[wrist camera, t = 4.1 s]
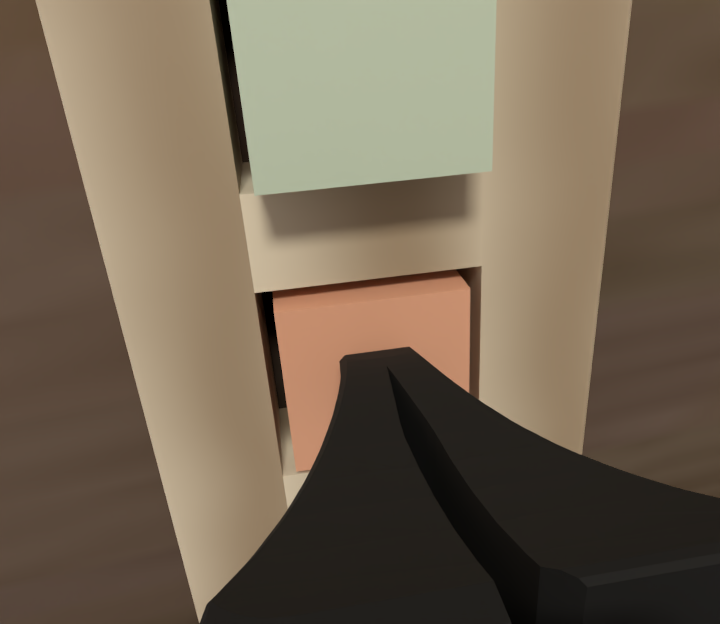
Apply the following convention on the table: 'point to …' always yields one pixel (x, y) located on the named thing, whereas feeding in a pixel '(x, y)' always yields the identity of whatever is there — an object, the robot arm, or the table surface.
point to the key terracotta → (363, 339)
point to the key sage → (364, 90)
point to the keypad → (328, 241)
